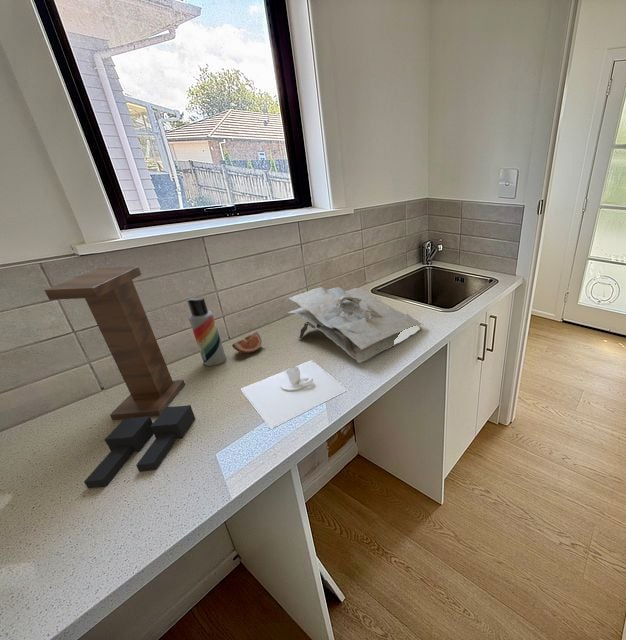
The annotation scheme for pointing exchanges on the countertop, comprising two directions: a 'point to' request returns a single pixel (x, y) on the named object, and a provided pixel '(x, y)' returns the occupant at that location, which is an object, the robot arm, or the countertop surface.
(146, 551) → the countertop surface
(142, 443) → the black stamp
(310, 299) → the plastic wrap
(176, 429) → the black angular piece
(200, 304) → the lotion bottle
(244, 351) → the fruit slice
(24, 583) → the countertop surface
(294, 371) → the teacup and saucer
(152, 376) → the walnut stand
